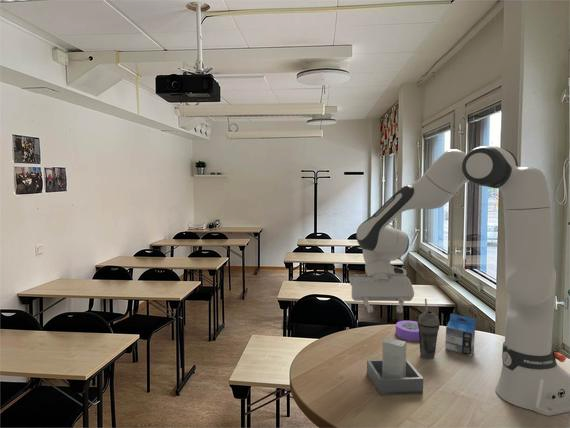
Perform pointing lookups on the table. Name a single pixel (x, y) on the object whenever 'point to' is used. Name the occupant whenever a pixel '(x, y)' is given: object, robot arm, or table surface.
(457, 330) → the label tape cartridge
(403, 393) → the box
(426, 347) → the beverage cup
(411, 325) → the masking tape
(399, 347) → the skincare box
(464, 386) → the table surface
